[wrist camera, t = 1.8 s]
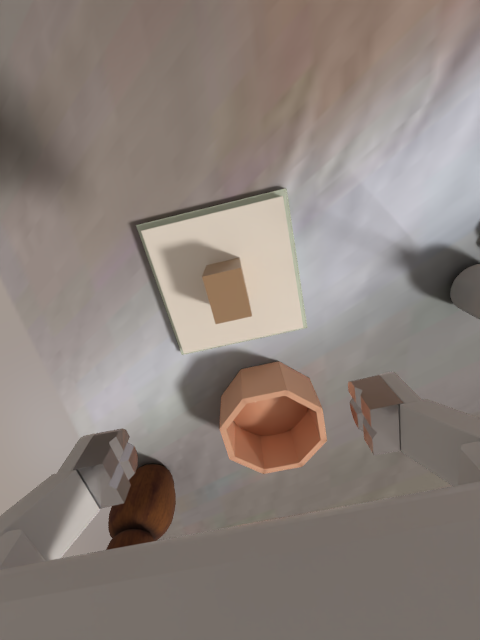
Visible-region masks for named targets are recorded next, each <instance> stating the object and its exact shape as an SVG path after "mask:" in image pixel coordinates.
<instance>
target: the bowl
mask: <svg viewBox="0 0 480 640" xmlns="http://www.w3.org/2000/svg"><path fill="white" fill-rule="evenodd" d="M219 429H220V432H221V435H222V438H223V441H224V444H225V447H226V450H227V453H228V456H229V459H230V460H232V461H235V462H237V463H239V464H242V465H244V466H246V467H249V468H251V469H253V470H256V471H258V472H260V473H263V474H265V473H271V472H276V471H281V470H287V469H292V468H297V467H302V466H303V465H304V464H305V463H306V462H307V461H308V460H309V459H310V458H311V457H312V456H313V455H314V454H315V453H316V452H317V451H318V450H319V449H320V447H321V446H322V445H323V444H324V443H325V442H326V441H327V437H326V430H325V423H324V417H323V410H322V406H321V404H320V402H319V399H318V397H317V395H316V392H315V390H314V388H313V385H312V383H311V381H310V379H309V378H308V377H306V376H304V375H303V374H301V373H299V372H297V371H295V370H293V369H292V368H290V367H288V366H286V365H284V364H283V363H281V362H279V361H278V362H273V363H268V364H263V365H259V366H254V367H249V368H244V369H241V370H240V371H239V372H238V374H237V375H236V377H235V378H234V379H233V381H232V382H231V383H230V385H229V386H228V388H227V389H226V390H225V392H224V393H223V394H222V396H221V408H220V428H219Z"/></svg>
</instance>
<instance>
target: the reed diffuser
mask: <svg viewBox="0 0 480 640" xmlns="http://www.w3.org/2000/svg"><path fill="white" fill-rule="evenodd" d="M450 296H451V300H452V302H453V303H454V305H455V306H457V307H458V308H460V309H462V310H463V311H465V312H467V313H469V314H471V315H472V316H474V317H476V318H478V319H480V264H476V265H473V266H471V267H468V268H467V269H465V270H464V271H462V272H461V273H460V274H459V275H458V276H457V277H456V279H455V280H454V282H453V284H452V287H451V291H450Z"/></svg>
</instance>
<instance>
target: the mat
mask: <svg viewBox="0 0 480 640" xmlns="http://www.w3.org/2000/svg"><path fill="white" fill-rule="evenodd" d="M280 196H283V199H284V206H285V212H286V219H287V225H288V232H289V238H290V244H291V251H292V257H293V264H294V270H295V277H296V283H297V289H298V296H299V302H300V309H301V315H302V322H303V328H300V329H304V328H307V323H306V316H305V309H304V303H303V296H302V289H301V283H300V276H299V269H298V263H297V256H296V249H295V243H294V236H293V229H292V223H291V216H290V209H289V203H288V196H287V189H286V188H285V189H281V190H277V191H273V192H269V193H265V194H261V195H257V196H253V197H248V198H244V199H240V200H236V201H232V202H228V203H224V204H220V205H216V206H212V207H208V208H204V209H200V210H196V211H192V212H188V213H184V214H180V215H176V216H172V217H168V218H164V219H160V220H156V221H152V222H147V223H143V224H139V225H136V227H137V230H138V232H139V235H140V238H141V241H142V244H143V247H144V249H145V252H146V255H147V258H148V261H149V264H150V266H151V269H152V272H153V275H154V278H155V280H156V283H157V286H158V289H159V292H160V295H161V297H162V300H163V303H164V306H165V309H166V312H167V314H168V317H169V320H170V323H171V326H172V329H173V331H174V334H175V337H176V340H177V343H178V345H179V348H180V351H181V354H182V355H184V352H183V350H182V347H181V344H180V341H179V338H178V335H177V332H176V330H175V327H174V324H173V321H172V318H171V315H170V312H169V310H168V307H167V304H166V301H165V298H164V295H163V292H162V290H161V287H160V284H159V281H158V278H157V275H156V272H155V270H154V267H153V264H152V261H151V258H150V255H149V252H148V250H147V247H146V244H145V241H144V238H143V235H142V232H141V231H142V230H146V229H150V228H154V227H158V226H162V225H166V224H170V223H174V222H178V221H182V220H186V219H190V218H195V217H199V216H203V215H207V214H211V213H215V212H219V211H223V210H227V209H231V208H235V207H239V206H243V205H247V204H251V203H256V202H260V201H264V200H268V199H272V198H276V197H280ZM300 329H296V330H300ZM291 331H295V330H291ZM286 332H290V331H286ZM286 332H282V333H286ZM277 334H281V333H277ZM277 334H273V335H277ZM268 336H272V335H268ZM263 337H267V336H263ZM263 337H259V338H263ZM254 339H258V338H254ZM250 340H253V339H250ZM245 341H249V340H245ZM240 342H244V341H240ZM240 342H236V343H240ZM231 344H235V343H231ZM226 345H230V344H226ZM226 345H222V346H226ZM217 347H221V346H217ZM213 348H216V347H213ZM208 349H212V348H208ZM203 350H207V349H203ZM203 350H199V351H203ZM194 352H198V351H194ZM189 353H193V352H189ZM189 353H185V354H189Z"/></svg>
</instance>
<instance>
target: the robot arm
mask: <svg viewBox="0 0 480 640" xmlns="http://www.w3.org/2000/svg"><path fill="white" fill-rule="evenodd" d="M348 390H349V393H350V394H351V396H352V399H351V401H350V407H351V412H352V415H353V418H354V421H355V423H356V425H357V427H358V429H360V430H361V431H363V432H364V439H365V441H366V443H367V444H368V446H369V448H370V450H371V451H372V453H373V455H377V454H384V453H390V452H396V451H401V452H402V453H403V454H405V455H406V456H408V457H410V458H411V459H413V460H414V461H416V462H417V463H419V464H420V465H422V466H423V467H425V468H426V469H428V470H429V471H431V472H432V473H434V474H435V475H437V476H438V477H440V478H441V479H443V480H444V481H446V482H447V483H449V484H450V485H452V487H447V488H441V489H436V490H430V491H425V492H419V493H414V494H409V495H403V496H398V497H392V498H387V499H381V500H376V501H371V502H365V503H360V504H354V505H349V506H343V507H338V508H332V509H327V510H321V511H316V512H310V513H305V514H299V515H294V516H288V517H283V518H278V519H272V520H267V521H261V522H256V523H250V524H245V525H239V526H234V527H228V528H223V529H218V530H212V531H207V532H201V533H196V534H190V535H185V536H179V537H174V538H169V539H163V540H158V541H152V542H147V543H141V544H136V545H130V546H125V547H120V548H114V549H109V550H103V551H98V552H92V553H87V554H81V555H76V556H71V557H66V558H61V557H62V556H63V554H64V553H65V552H66V551H67V550H68V548H69V547H70V546H71V545H72V543H73V542H74V541H75V540H76V539H77V538H78V536H79V535H80V534H81V533H82V532H83V530H84V529H85V528H86V527H87V525H88V524H89V523H90V522H91V521H92V519H93V518H94V517H95V515H96V514H97V513H98V512H99V511H100V508H105V507H109V506H114V505H118V504H123V503H124V502H125V500H126V497H127V494H128V491H129V489H130V486H131V484H130V482H129V479H130V478H131V477H132V476H133V475H134V474H135V472H136V469H137V464H138V456H137V451H136V449H135V447H134V446H133V445H132V444H130V443H128V440H129V435H128V433H127V431H126V430H125V429H117V430H112V431H106V432H101V433H97V434H91V435H86V436H83V437H81V438H80V439H79V441H78V442H77V444H76V445H75V447H74V448H73V450H72V451H71V453H70V454H69V456H68V457H67V459H66V460H65V462H64V463H63V465H62V466H61V468H60V469H59V471H58V472H57V474H53V475H51V476H50V477H49V478H48V479H46V480H45V481H44V482H42V483H41V484H40V485H39V486H38V487H36V488H35V489H34V490H32V491H31V492H30V493H29V494H27V495H26V496H25V497H24V498H22V499H21V500H20V501H19V502H17V503H16V504H15V505H14V506H12V507H11V508H10V509H8V510H7V511H6V512H5V513H3V514H2V515H1V516H0V640H480V418H478V417H475V416H473V415H470V414H467V413H464V412H461V411H459V410H456V409H453V408H450V407H448V406H445V405H442V404H439V403H436V402H434V401H431V400H428V399H424V400H422V399H421V398H420V397H419V396H418V395H417V394H416V393H415V392H414V391H413V390H412V389H411V388H410V387H409V386H408V385H407V384H406V383H405V382H404V381H403V380H402V379H401V378H400V377H399V376H398V375H397V374H396V373H395V372H392V371H391V372H387V373H383V374H379V375H377V376H372V377H367V378H363V379H358V380H353V381H349V382H348Z"/></svg>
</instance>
